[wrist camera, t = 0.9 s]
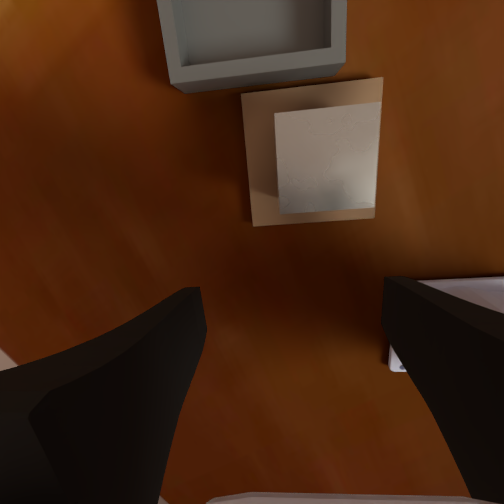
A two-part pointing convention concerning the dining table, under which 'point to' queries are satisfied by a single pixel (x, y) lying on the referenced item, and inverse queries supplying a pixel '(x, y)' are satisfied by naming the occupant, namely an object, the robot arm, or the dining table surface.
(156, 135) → the dining table surface
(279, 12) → the bin
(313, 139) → the grey block
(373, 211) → the stud plate
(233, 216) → the dining table surface
